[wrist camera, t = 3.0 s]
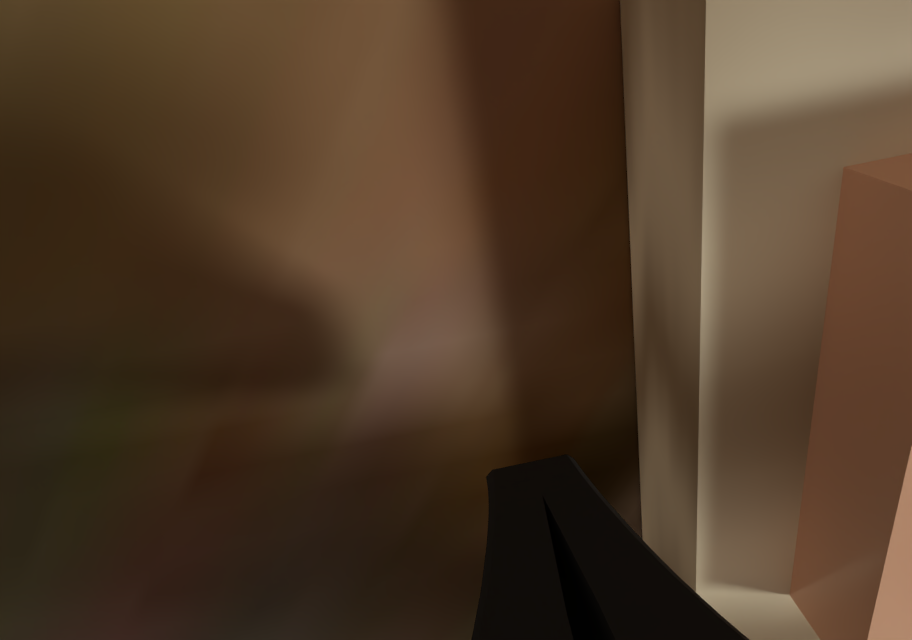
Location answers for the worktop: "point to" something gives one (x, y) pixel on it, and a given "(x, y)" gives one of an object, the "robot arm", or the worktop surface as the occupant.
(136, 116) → the worktop surface
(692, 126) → the tan tray
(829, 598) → the tile
